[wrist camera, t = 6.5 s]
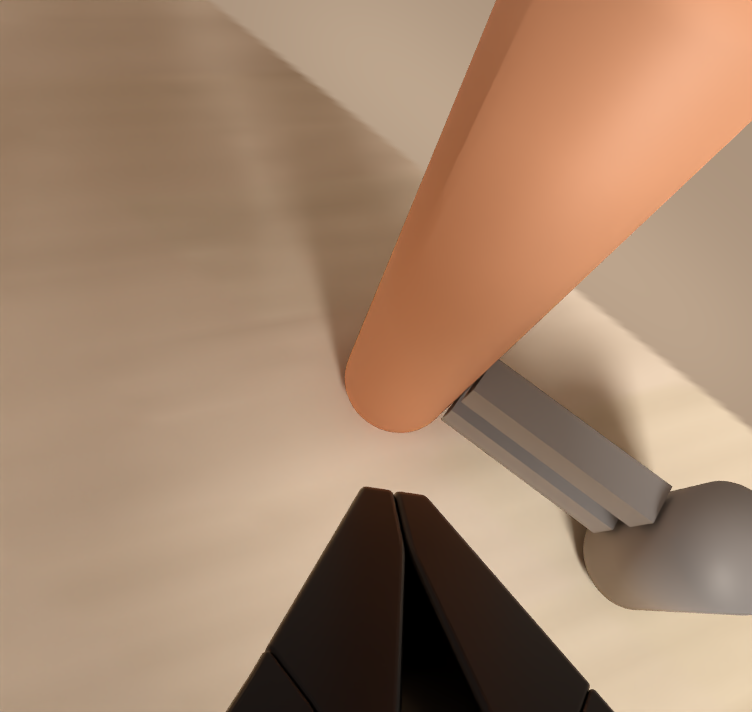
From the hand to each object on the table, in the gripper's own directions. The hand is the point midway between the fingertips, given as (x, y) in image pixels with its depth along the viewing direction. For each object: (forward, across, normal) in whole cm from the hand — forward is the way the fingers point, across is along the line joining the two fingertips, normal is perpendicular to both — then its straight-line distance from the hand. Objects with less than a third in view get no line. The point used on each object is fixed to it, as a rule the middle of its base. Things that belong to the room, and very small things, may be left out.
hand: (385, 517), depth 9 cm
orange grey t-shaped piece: (+9, -5, +4) cm, 11 cm away
